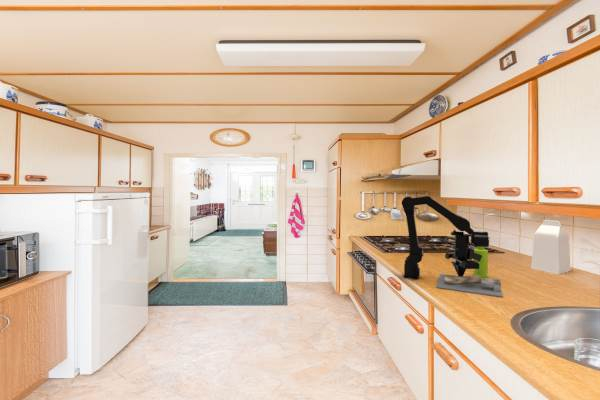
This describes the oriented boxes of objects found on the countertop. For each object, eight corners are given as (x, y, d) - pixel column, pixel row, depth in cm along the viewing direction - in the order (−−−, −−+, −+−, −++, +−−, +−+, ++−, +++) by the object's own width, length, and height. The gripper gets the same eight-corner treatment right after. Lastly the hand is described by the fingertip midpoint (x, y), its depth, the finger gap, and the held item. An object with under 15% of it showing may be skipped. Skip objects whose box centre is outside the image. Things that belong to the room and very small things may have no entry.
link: (448, 284, 128) (448, 278, 128) (442, 281, 132) (442, 275, 132) (483, 282, 131) (483, 276, 131) (476, 279, 135) (476, 273, 135)
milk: (531, 268, 154) (531, 220, 153) (543, 265, 159) (543, 218, 158) (558, 274, 144) (559, 222, 143) (570, 271, 148) (571, 220, 147)
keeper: (481, 290, 122) (481, 280, 122) (480, 286, 127) (481, 277, 127) (500, 293, 119) (500, 282, 119) (499, 289, 124) (499, 279, 123)
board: (436, 288, 126) (436, 286, 126) (440, 274, 145) (440, 273, 145) (503, 297, 114) (503, 296, 114) (497, 281, 133) (497, 280, 133)
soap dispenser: (487, 279, 137) (488, 237, 136) (471, 276, 142) (472, 235, 141) (491, 276, 141) (492, 236, 140) (475, 273, 146) (476, 234, 145)
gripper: (492, 250, 124) (491, 285, 125) (467, 240, 142) (466, 272, 143) (466, 250, 124) (465, 285, 125) (445, 240, 142) (444, 272, 143)
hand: (460, 278), depth 134 cm, fingers closed
